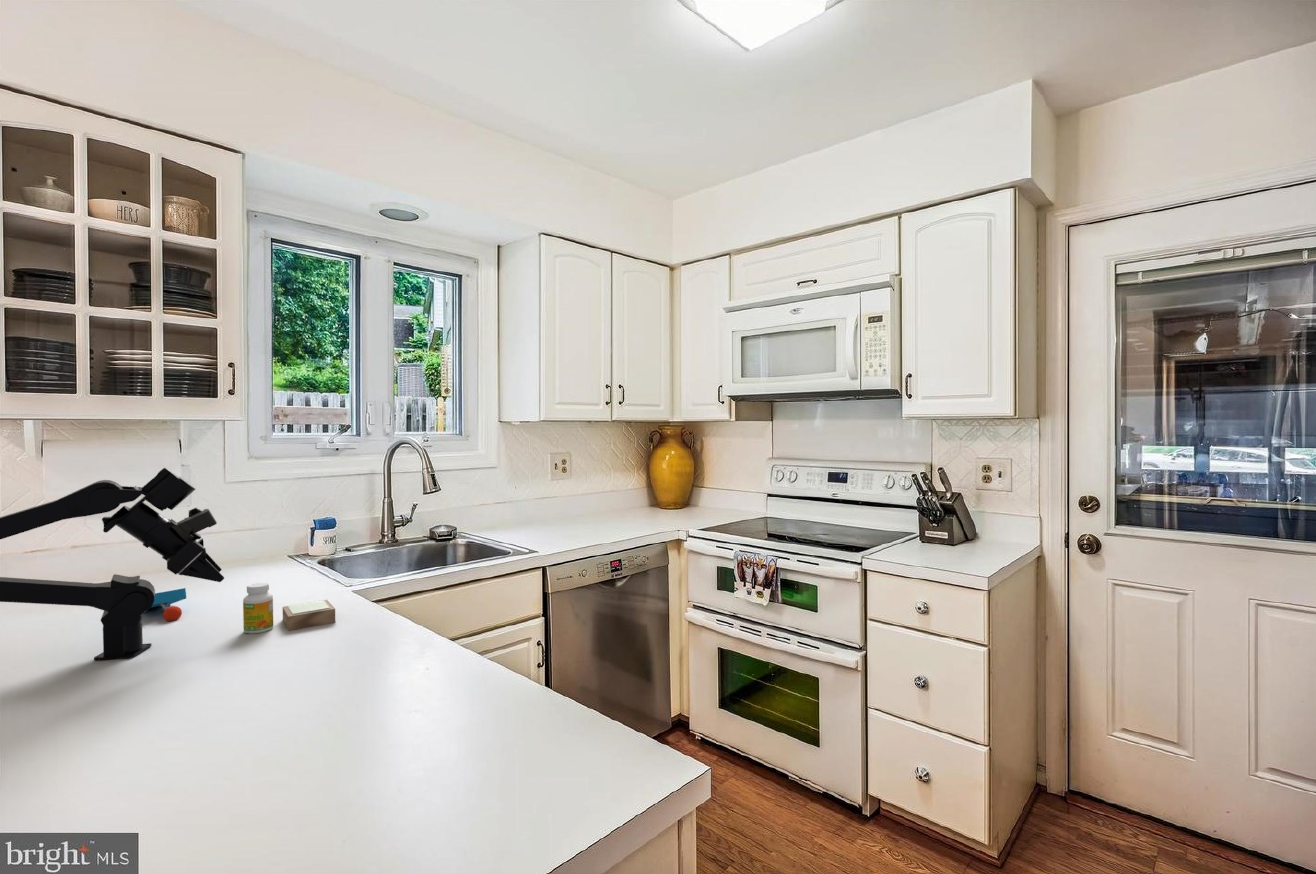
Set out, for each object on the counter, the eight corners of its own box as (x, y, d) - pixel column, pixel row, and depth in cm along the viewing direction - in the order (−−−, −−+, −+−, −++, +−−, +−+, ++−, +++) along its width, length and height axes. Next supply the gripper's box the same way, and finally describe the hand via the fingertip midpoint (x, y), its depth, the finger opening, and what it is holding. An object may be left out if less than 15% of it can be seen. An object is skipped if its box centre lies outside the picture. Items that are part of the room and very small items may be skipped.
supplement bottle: (239, 635, 130) (238, 589, 130) (248, 627, 135) (248, 582, 135) (268, 632, 132) (267, 587, 131) (276, 625, 137) (276, 580, 137)
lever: (134, 631, 148) (156, 624, 137) (131, 601, 149) (152, 592, 138) (170, 623, 153) (193, 616, 142) (167, 595, 154) (190, 586, 143)
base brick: (288, 630, 133) (288, 615, 133) (282, 620, 140) (282, 605, 140) (335, 622, 139) (335, 607, 139) (327, 612, 146) (327, 598, 146)
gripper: (187, 501, 118) (257, 552, 125) (186, 493, 133) (249, 538, 140) (134, 548, 114) (210, 598, 121) (139, 534, 128) (206, 579, 135)
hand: (221, 575), depth 129 cm, fingers open, 9 cm apart
